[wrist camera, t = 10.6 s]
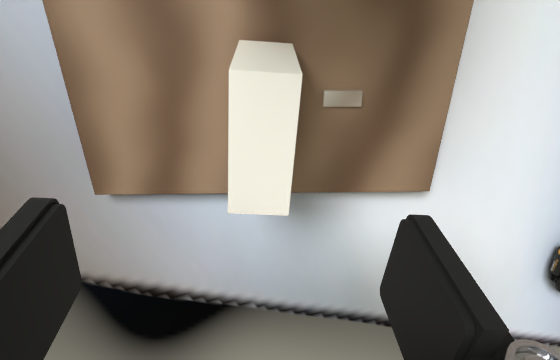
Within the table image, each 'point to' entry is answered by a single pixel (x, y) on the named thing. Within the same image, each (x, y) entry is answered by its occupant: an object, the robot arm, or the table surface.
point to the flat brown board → (215, 88)
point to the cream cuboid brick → (262, 126)
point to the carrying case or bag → (556, 270)
